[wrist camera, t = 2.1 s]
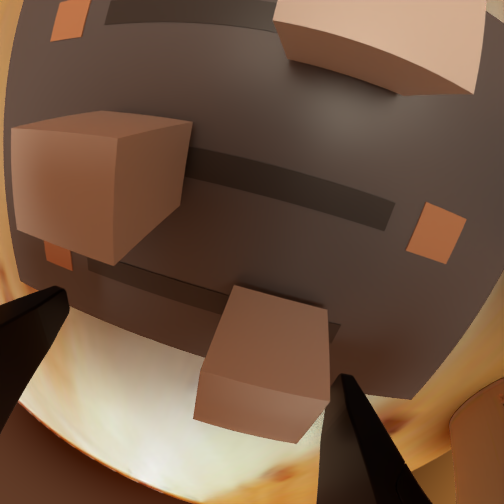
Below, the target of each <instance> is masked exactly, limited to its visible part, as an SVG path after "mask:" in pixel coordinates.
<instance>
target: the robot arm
mask: <svg viewBox="0 0 504 504" xmlns="http://www.w3.org/2000/svg"><path fill="white" fill-rule="evenodd" d="M69 310H70V307H69V302H68V297H67V292H66V290H65V289H64V288H62V287H60V286H57V285H55V286H52V287H49V288H46V289H43V290H40V291H38V292H35V293H32V294H29V295H27V296H24V297H21V298H18V299H16V300H13V301H10V302H7V303H5V304H2V305H0V434H1V432H2V430H3V427H4V426H5V424H6V422H7V420H8V418H9V416H10V414H11V413H12V411H13V409H14V407H15V405H16V404H17V402H18V400H19V398H20V396H21V395H22V393H23V391H24V390H25V388H26V386H27V384H28V383H29V381H30V379H31V378H32V376H33V374H34V373H35V371H36V370H37V368H38V366H39V365H40V363H41V362H42V360H43V358H44V357H45V355H46V354H47V352H48V351H49V349H50V347H51V345H52V344H53V342H54V340H55V338H56V336H57V334H58V332H59V330H60V329H61V327H62V325H63V323H64V321H65V319H66V318H67V316H68V314H69ZM404 463H405V461H404V459H403V458H402V456H401V454H400V452H399V451H398V449H397V447H396V446H395V444H394V442H393V441H392V439H391V437H390V436H389V434H388V432H387V430H386V429H385V427H384V425H383V424H382V422H381V420H380V419H379V417H378V415H377V414H376V412H375V410H374V409H373V407H372V406H371V404H370V402H369V401H368V399H367V397H366V396H365V394H364V392H363V391H362V389H361V387H360V386H359V384H358V383H357V381H356V379H355V378H354V376H353V375H350V374H344V373H340V374H339V375H338V376H337V378H336V379H335V381H334V382H333V384H332V385H331V387H330V402H329V404H328V405H327V406H326V408H325V414H324V420H323V426H322V433H321V442H320V462H319V478H318V492H317V504H432V502H431V501H430V500H429V498H428V497H427V496H426V494H425V493H424V491H423V490H422V488H421V487H420V486H419V484H418V482H417V481H416V479H415V478H414V476H413V474H412V473H411V471H410V469H409V468H408V466H407V464H404Z"/></svg>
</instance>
